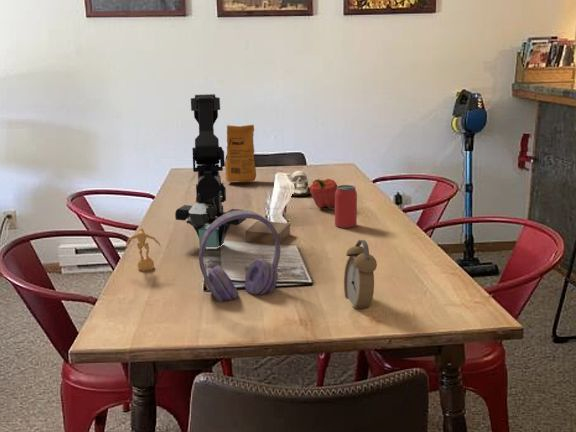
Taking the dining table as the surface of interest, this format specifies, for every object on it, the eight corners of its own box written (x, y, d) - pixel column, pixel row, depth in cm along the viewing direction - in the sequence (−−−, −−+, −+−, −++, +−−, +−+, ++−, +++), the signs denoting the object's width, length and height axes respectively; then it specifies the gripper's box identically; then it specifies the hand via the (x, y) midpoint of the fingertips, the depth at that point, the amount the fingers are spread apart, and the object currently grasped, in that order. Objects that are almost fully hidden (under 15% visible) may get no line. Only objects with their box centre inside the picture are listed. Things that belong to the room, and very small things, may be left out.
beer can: (355, 229, 189) (356, 190, 186) (333, 228, 191) (333, 189, 187) (357, 222, 196) (358, 185, 192) (336, 222, 197) (336, 184, 193)
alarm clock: (341, 297, 141) (342, 233, 137) (363, 295, 142) (364, 231, 138) (356, 319, 130) (357, 250, 126) (379, 317, 131) (381, 248, 127)
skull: (320, 192, 227) (299, 173, 224) (300, 212, 230) (279, 194, 227) (317, 181, 238) (298, 163, 235) (298, 200, 241) (278, 183, 238)
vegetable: (323, 212, 207) (323, 183, 204) (301, 206, 214) (301, 177, 212) (346, 206, 214) (347, 177, 211) (325, 201, 221) (325, 172, 218)
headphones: (207, 313, 134) (202, 222, 129) (197, 298, 142) (192, 212, 136) (287, 298, 141) (285, 211, 136) (273, 285, 148) (271, 202, 143)
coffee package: (226, 177, 260) (224, 123, 254) (256, 176, 260) (255, 122, 254) (224, 182, 250) (221, 126, 244) (255, 182, 250) (254, 126, 244)
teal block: (199, 250, 173) (198, 229, 171) (207, 244, 177) (206, 224, 176) (216, 252, 171) (215, 231, 170) (224, 246, 176) (223, 225, 174)
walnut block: (245, 244, 178) (245, 230, 177) (257, 233, 188) (257, 220, 186) (279, 247, 176) (279, 233, 174) (290, 236, 185) (289, 223, 184)
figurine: (164, 268, 160) (161, 223, 156) (161, 277, 154) (157, 230, 151) (131, 269, 159) (127, 224, 156) (126, 278, 154) (122, 231, 150)
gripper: (163, 194, 165) (167, 251, 170) (229, 199, 159) (231, 257, 164) (183, 184, 175) (186, 238, 180) (245, 189, 170) (247, 244, 174)
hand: (211, 244), depth 174 cm, fingers closed on teal block, 5 cm apart
